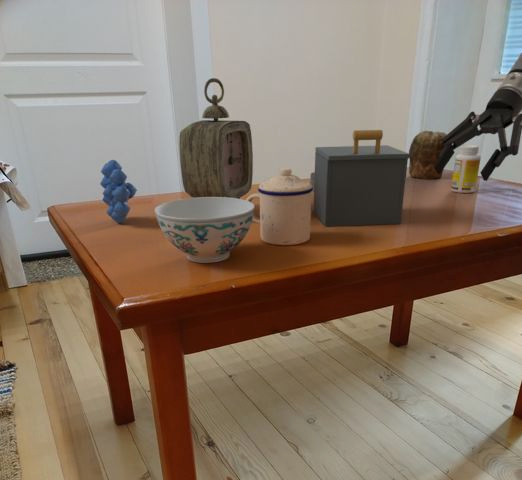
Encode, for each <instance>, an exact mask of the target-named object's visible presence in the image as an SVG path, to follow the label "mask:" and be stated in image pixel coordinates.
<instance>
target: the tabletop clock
mask: <svg viewBox="0 0 522 480" xmlns="http://www.w3.org/2000/svg"><path fill="white" fill-rule="evenodd" d="M212 83H217V84H218V85H219V87H220V89H221V94H220V97H218V95H217V94H213V95H212V96H211V98H210V97H209V96H208V88H209V86H210V84H212ZM203 92H204V97H205V100H206V101H207V102H208V103H209V104H211V105H209V106H207V107H206V108H205V109H204V110H203V113H202V116H201V120H199V121H195V122H191V123H190V124H188V125H187V126H185V127H184V128H183V129H181V131H180V132H179V138H178V142H179V143H178V146H179V164H180V173H181V182H182V185H183V189H184V192H185V193H186V194H187V195H188V196H190V198H198V197H228V198H237V199H241V198H242V197H244V196H246V195H248V193H249V192H250V191H251V189H252V184H253V176H254V175H253V173H254V172H253V171H254V169H253V168H254V154H253V153H254V152H253V137H252V130H251V124H250V123H249V122H248V121H246V120H219V119H227V118H228V119H229V118H230V115H229V112H228V110H227V108H226V107H224V106H222V105H219V103H220V102H222V101H223V99H224V96H225V88H224V84H223V82H222V81H221V80H220V79H218V78H216V77H212V78H209V79H207V81H206V82H205V85H204V91H203ZM204 119H205V120H204ZM206 119H207V120H206Z"/></svg>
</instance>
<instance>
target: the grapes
mask: <svg viewBox="0 0 522 480" xmlns="http://www.w3.org/2000/svg"><path fill="white" fill-rule="evenodd" d="M122 169H123V166H122V165H121V164H120V163H119V162H118V161H117V160H115V159H111V160H108V162H106V163H104V165H103V166H102V168H101V171H100V173H101V174H102V175H103V178H102V179H101V182H100V183H99V184H100V186H101V187H102V188H103V189H104V190H103V192H102V195H103V197H102V201H103V202H104V203H105V205H107V206H108V208H107V210H106V212H105V213H106V214H107V215H108V216H109V217H110V218H111V219H112V220H113V221H114V222H115V223H116V224H122V223H124V222H125V221H126V219H127V217H128V214H129V213H130V210H131V206H130V205H129V204H128V202H129V200H130V199H133V198H134V197H135V195H136V194H137V192H138V189H137V188H136V187H135V186H134V185H133V184H132V183H130V182H126V181H127V179H128V176H127V175H126V173H125V172H124V171H123V170H122Z"/></svg>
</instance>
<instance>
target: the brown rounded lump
mask: <svg viewBox="0 0 522 480" xmlns="http://www.w3.org/2000/svg"><path fill="white" fill-rule="evenodd" d="M447 134H448V133H446V132H443V131H433V130H422V131H420V132H419V133H418V134H416V135H415V136H414V137H413V139H412V141H411V143H410V146H409V149H408V153H409V154H410V158H408V160H409V163H408V173H409V175H410V177H411V178H417V179H422V180H423V179H424V180H435V179H434V178H437V179H441V177H442V176H443V173H444V169H445V168H444V169H443V170H442V172H441V173H440V174H437V172H436V170H435V168H434V165H435V164H436V162H437V161H438V159H439V158H440V157H439V155H440V153H441V152H442V150H443V149H444V146H443V144H442V142H441V140H442V139H443V138H444V137H445V136H446V135H447Z"/></svg>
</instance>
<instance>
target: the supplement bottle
mask: <svg viewBox="0 0 522 480" xmlns="http://www.w3.org/2000/svg"><path fill="white" fill-rule="evenodd" d="M479 148H480V146H479V145H472V144H471V145H468V144H467V145H461V146H460V148H459V149H460V150H459V154H457V155H456V156H455V159H454V166H453V172H452V180H451V186H450V190H451V192H453V193H458V194H470V193H474V192H475V191H476V189H477V188H476V187H477V181H478V177H479V176H478V175H479V172H480V171H479V169H480V164H481V159H482V158H481V155H479Z"/></svg>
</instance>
